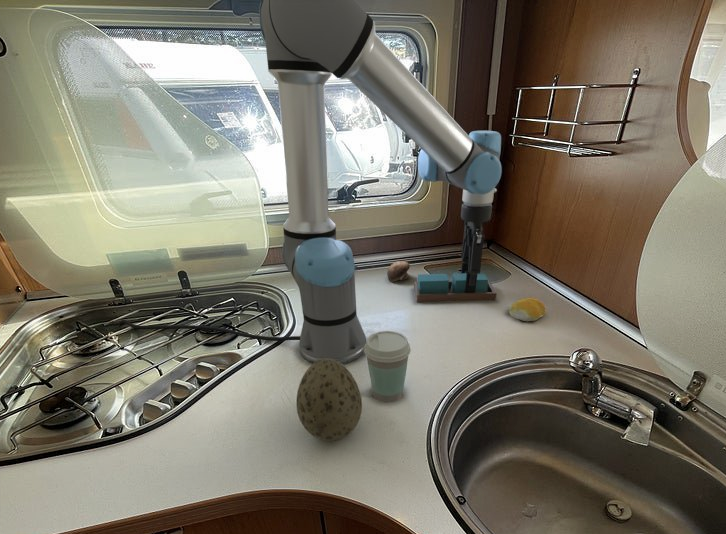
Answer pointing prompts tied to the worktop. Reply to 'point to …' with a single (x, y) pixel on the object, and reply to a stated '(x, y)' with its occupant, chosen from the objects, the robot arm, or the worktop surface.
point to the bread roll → (527, 309)
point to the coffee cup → (387, 364)
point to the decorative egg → (328, 400)
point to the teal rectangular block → (460, 282)
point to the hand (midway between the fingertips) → (466, 289)
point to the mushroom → (398, 271)
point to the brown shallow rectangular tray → (455, 295)
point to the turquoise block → (433, 283)
